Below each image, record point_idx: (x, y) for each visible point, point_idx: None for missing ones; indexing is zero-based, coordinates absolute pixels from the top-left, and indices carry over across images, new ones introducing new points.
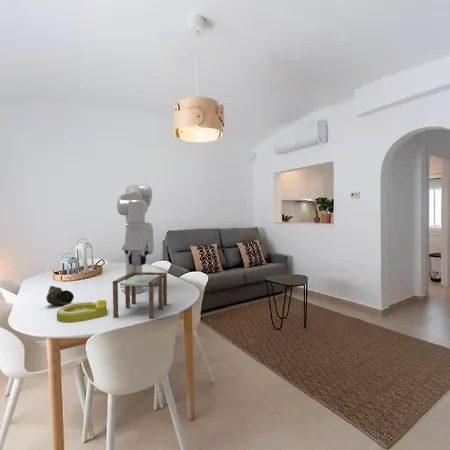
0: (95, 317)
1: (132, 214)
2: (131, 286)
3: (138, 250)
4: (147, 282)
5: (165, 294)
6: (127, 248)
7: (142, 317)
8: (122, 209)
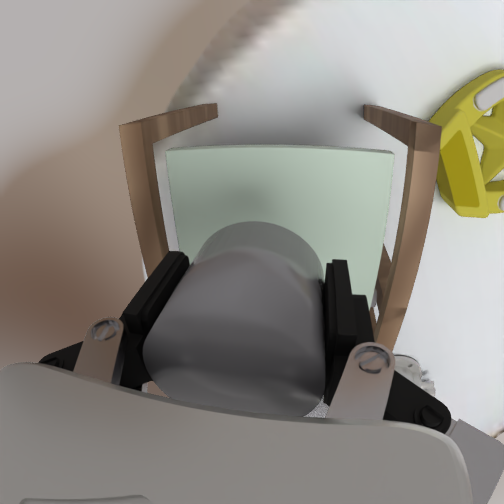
0: (445, 102)
1: None
2: (374, 314)
3: (111, 384)
4: (194, 190)
5: None
6: (398, 454)
7: (252, 114)
8: None
